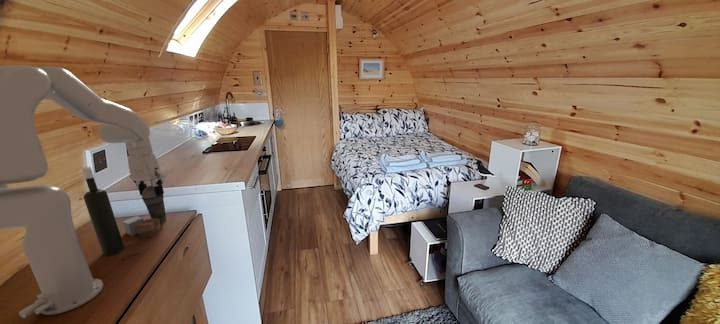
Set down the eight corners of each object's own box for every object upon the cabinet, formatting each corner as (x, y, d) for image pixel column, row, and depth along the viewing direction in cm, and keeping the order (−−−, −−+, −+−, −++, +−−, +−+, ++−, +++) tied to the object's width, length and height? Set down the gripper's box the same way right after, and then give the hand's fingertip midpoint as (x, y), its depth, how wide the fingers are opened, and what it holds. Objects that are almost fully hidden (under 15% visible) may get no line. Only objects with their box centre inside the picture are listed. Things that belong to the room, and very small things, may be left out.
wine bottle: (99, 253, 100) (70, 169, 92) (118, 245, 105) (92, 164, 97) (108, 257, 98) (79, 171, 89) (128, 248, 103) (101, 165, 94)
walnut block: (154, 236, 110) (150, 224, 108) (140, 237, 110) (136, 225, 108) (162, 229, 115) (158, 218, 113) (148, 231, 114) (145, 219, 113)
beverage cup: (152, 219, 124) (140, 174, 118) (172, 216, 126) (160, 171, 120) (146, 227, 117) (132, 180, 112) (167, 223, 119) (154, 177, 114)
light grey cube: (132, 235, 111) (128, 224, 110) (126, 233, 114) (122, 221, 113) (146, 229, 115) (143, 218, 114) (140, 227, 118) (137, 216, 117)
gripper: (112, 154, 112) (125, 197, 116) (150, 153, 108) (162, 198, 113) (131, 149, 119) (142, 190, 123) (167, 148, 115) (178, 191, 120)
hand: (152, 194), depth 118 cm, fingers closed on beverage cup, 6 cm apart
